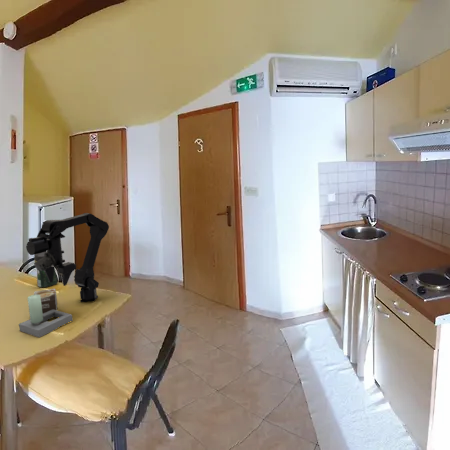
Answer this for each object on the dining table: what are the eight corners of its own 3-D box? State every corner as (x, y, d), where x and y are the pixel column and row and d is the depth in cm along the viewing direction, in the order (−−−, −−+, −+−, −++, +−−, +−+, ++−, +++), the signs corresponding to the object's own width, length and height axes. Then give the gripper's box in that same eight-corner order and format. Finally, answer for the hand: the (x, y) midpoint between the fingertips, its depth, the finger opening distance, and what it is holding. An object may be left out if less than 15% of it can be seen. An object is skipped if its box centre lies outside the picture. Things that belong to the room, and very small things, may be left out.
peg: (47, 326, 138) (43, 294, 135) (41, 332, 133) (37, 299, 130) (35, 327, 137) (30, 294, 135) (28, 333, 133) (24, 299, 130)
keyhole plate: (53, 315, 148) (53, 309, 147) (72, 321, 142) (72, 314, 142) (19, 330, 135) (18, 323, 134) (39, 337, 129) (38, 330, 129)
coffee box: (55, 287, 163) (56, 299, 149) (57, 300, 164) (57, 313, 150) (33, 291, 159) (32, 303, 145) (35, 304, 160) (34, 317, 146)
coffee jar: (54, 281, 191) (50, 249, 188) (59, 284, 186) (55, 251, 182) (35, 285, 184) (31, 252, 181) (40, 289, 179) (36, 255, 175)
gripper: (22, 251, 143) (27, 286, 146) (51, 256, 135) (55, 293, 138) (46, 245, 153) (50, 278, 156) (75, 250, 145) (78, 284, 147)
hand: (58, 283), depth 149 cm, fingers open, 9 cm apart
